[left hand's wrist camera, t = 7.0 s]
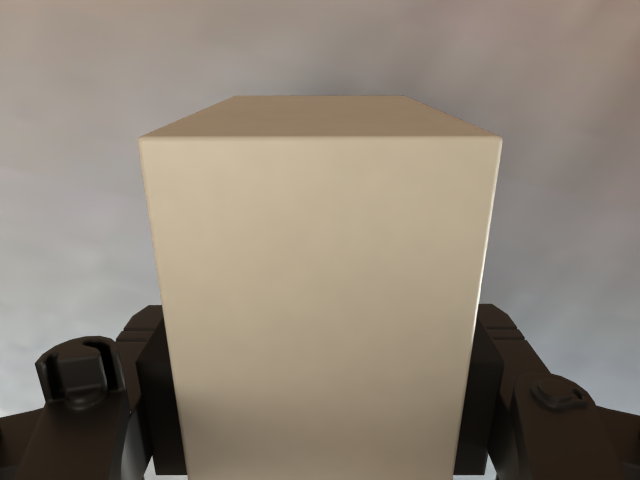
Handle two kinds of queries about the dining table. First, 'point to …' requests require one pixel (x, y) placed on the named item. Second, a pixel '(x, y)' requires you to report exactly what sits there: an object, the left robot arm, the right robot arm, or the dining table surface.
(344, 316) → the post
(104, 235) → the dining table surface
